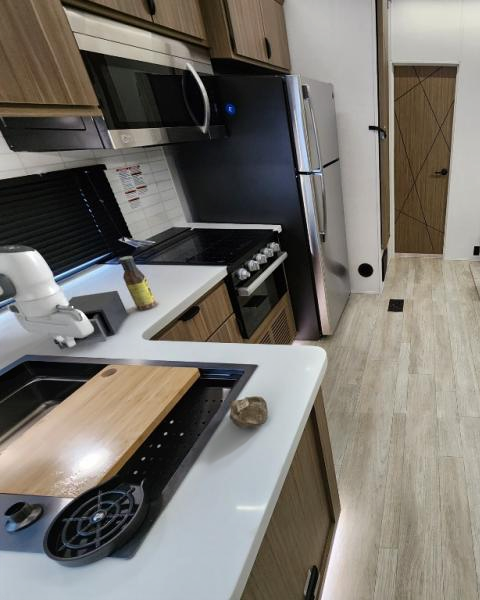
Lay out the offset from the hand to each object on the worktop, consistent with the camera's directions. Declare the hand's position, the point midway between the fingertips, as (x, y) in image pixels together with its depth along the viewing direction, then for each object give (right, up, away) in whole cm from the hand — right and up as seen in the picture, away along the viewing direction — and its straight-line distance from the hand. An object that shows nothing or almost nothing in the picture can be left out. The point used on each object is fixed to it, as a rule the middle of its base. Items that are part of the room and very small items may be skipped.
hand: (69, 345), depth 96 cm
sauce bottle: (-1, +10, +31) cm, 33 cm away
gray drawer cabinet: (-8, +4, +18) cm, 20 cm away
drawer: (-4, +1, +11) cm, 11 cm away
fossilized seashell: (+61, -15, -18) cm, 65 cm away
